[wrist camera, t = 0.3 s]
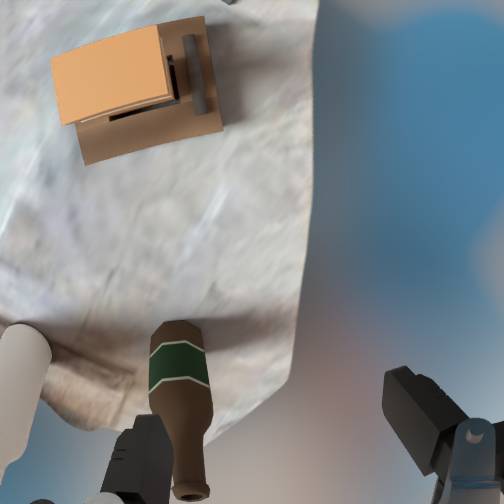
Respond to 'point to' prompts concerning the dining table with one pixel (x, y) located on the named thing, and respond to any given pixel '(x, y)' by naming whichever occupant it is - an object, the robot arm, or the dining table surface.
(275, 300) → the dining table surface
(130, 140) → the brown socket base
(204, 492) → the beer bottle
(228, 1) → the pad
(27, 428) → the alcohol
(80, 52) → the striped orange pillar
